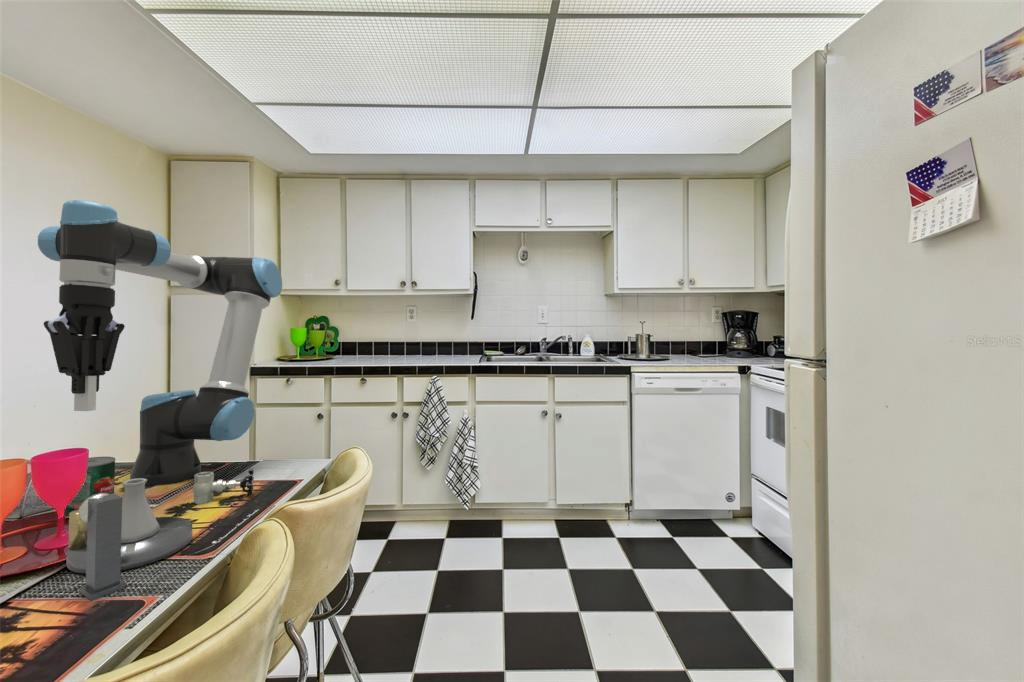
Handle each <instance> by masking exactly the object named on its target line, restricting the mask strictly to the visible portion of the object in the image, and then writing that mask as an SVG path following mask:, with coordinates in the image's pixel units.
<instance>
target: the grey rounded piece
mask: <svg viewBox="0 0 1024 682" xmlns="http://www.w3.org/2000/svg"><path fill="white" fill-rule="evenodd" d="M78 511H79V510H75V511H72V512H70V513H69V519H68V546H67V550H66V559H65V560H66V562H65V563H66V567H67V569H68V570H70V571H72V572H73V573H78V574H86V560H87V523H86V522H84V521H82V520H81V519H80V518H79V515H78ZM155 518H156V520H157V522H158V524H159V526H160V528H161V529H160V530H158V531H157V532H156V533H155V534H154V535H152V536H150V537H147V538H144V539H141V540H139V541H136V542H129V543H121V566H120V571H125V570H130V569H134V568H138V567H142V566H145V565H147V564H151V563H155V562H157V561H160V560H162V559H165V558H167V557H169V556H171V555H174V554H176V553H177V552H179V551H180V550H183V549H184V548H185V547H186V546H187V545H189V544H190V542H191V541H192V538H193V523H192V521H191V520H189V519H187V518H184V517H179V516H159V517H158V516H155Z"/></svg>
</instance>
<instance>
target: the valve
mask: <svg viewBox="0 0 1024 682" xmlns="http://www.w3.org/2000/svg"><path fill="white" fill-rule="evenodd" d="M247 471H248V474H247V475H245V476H244V477H243V478H241V479H240V481H236V479H235V480H229V481H226V480H225V481H224V479H221V478H220V479H217V480H216V481H214V480H215V472H214V471H201V472H200V473H197V474H195V475H194V477H193V480H194V481H193V482H194V484H193V487H192V492H193V503H194V504H195V505H201V504H202V503H204V504H208V503H210V502H212V501H214V492H216V493H217V494H218V493H219V494H220V493H222V492H223V490H226V489H229V490H231V489H236V487H239V488H241V490H242V492H244V493H246V496H247V497H250V496H249V495H252V494H254V493H253V492H254V491H253V490H254V479H255V478H254V474H255V473H254V468H248V470H247ZM252 496H253V495H252Z"/></svg>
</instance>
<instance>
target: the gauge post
mask: <svg viewBox="0 0 1024 682" xmlns="http://www.w3.org/2000/svg"><path fill="white" fill-rule="evenodd" d="M122 501H123V496H121V495H118V494H115V493H114V494H107V493H99V494H95V495H92V496H90V497H89V498H87V499H86V500H85V501H84V502H83V503H82V504H81V506H80V508H79V511H78V515H79V518H80V519H81V520H82V521H84V522H86V523H87V560H86V573H85V585H82V586H79V594H81V595H83V596H84V597H86V598H87V599H89V600H90V601H94V600H96V599H98V598H102V597H104V596H106V595H109V594H111V593H115V592H117V591H119V590H121V589H125V588H126V583H127V582H126V581H125V580H123V579H121V570H120V566H121V529H122Z"/></svg>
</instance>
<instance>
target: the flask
mask: <svg viewBox="0 0 1024 682" xmlns="http://www.w3.org/2000/svg"><path fill="white" fill-rule="evenodd" d="M146 482H147V479H144V478H139V479H131V480H130V479H128V480H125V481H123V482H122V486H123V487H124V494H123V496H122V529H121V543H129V542H136V541H139V540H141V539H144V538H147V537H150V536H152V535H154V534H155V533H156V532H157V531H158V530H160V529H161V528H160V526H159V524H158V522H157V520H156V518H155V517H156V516H155V514H154V512H153V509H152V508H151V505H150V503H149V502H148V499H147V494H146V485H145V483H146Z"/></svg>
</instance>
